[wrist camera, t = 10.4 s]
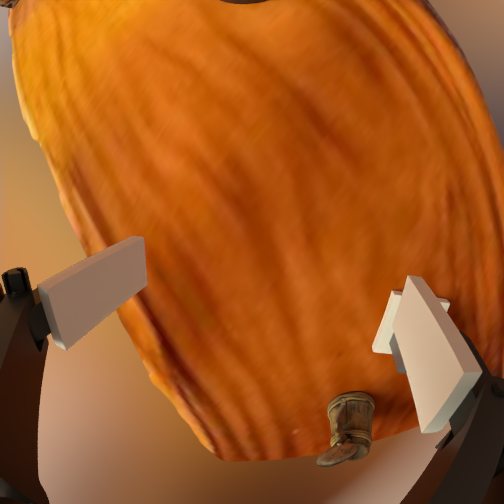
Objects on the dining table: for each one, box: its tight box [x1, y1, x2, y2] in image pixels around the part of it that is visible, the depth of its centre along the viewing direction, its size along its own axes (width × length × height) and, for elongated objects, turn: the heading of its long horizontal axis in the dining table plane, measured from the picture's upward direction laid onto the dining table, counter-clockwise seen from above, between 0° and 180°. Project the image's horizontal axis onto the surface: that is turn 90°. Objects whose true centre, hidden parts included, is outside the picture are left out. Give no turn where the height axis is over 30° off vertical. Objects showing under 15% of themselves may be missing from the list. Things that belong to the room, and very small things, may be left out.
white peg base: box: [372, 290, 450, 354], centre depth 33 cm, size 10×10×6 cm
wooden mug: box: [316, 392, 375, 467], centre depth 35 cm, size 9×14×18 cm, turn 33°
